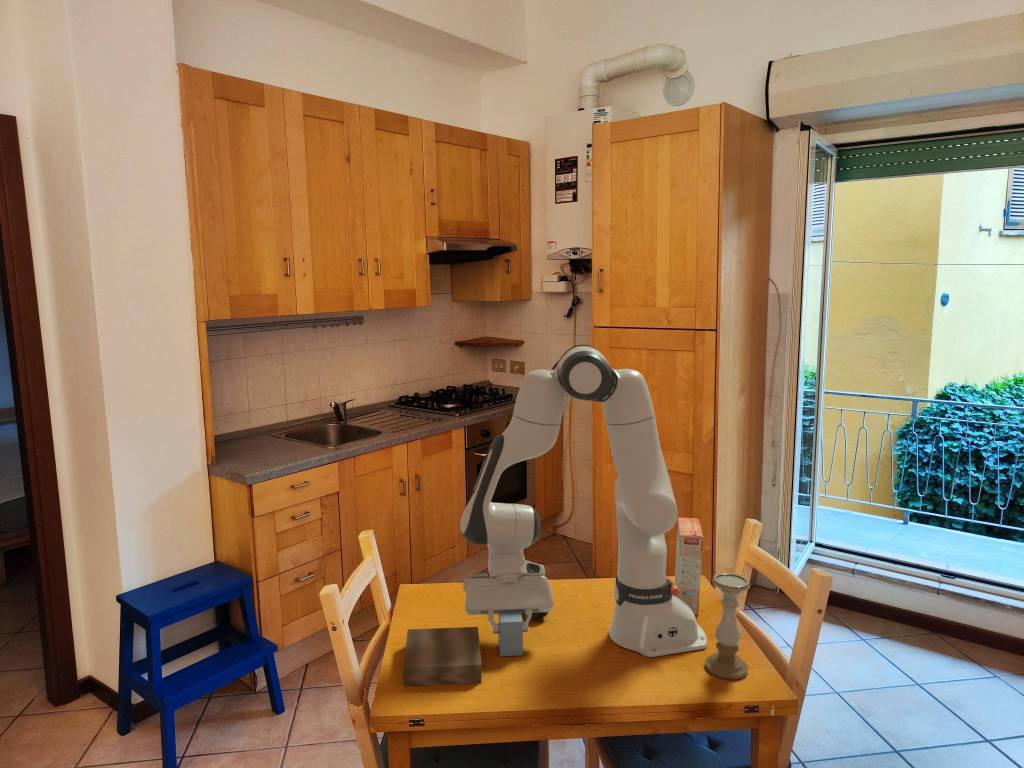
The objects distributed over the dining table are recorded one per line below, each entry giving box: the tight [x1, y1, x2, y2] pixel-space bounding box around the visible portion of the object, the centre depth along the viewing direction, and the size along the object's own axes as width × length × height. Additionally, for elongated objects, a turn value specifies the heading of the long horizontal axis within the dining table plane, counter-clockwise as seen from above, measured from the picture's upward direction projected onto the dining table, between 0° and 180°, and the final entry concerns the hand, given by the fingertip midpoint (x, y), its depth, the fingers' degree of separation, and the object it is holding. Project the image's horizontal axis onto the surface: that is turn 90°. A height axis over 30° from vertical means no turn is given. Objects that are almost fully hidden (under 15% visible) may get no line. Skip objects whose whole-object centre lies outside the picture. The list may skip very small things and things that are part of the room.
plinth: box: [402, 626, 482, 687], centre depth 151 cm, size 16×16×4 cm
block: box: [498, 611, 524, 657], centre depth 156 cm, size 5×5×8 cm
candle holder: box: [704, 572, 751, 680], centre depth 149 cm, size 9×9×20 cm
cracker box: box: [673, 517, 704, 616], centre depth 179 cm, size 14×6×21 cm, turn 168°
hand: (510, 632), depth 155 cm, fingers closed on block, 5 cm apart
